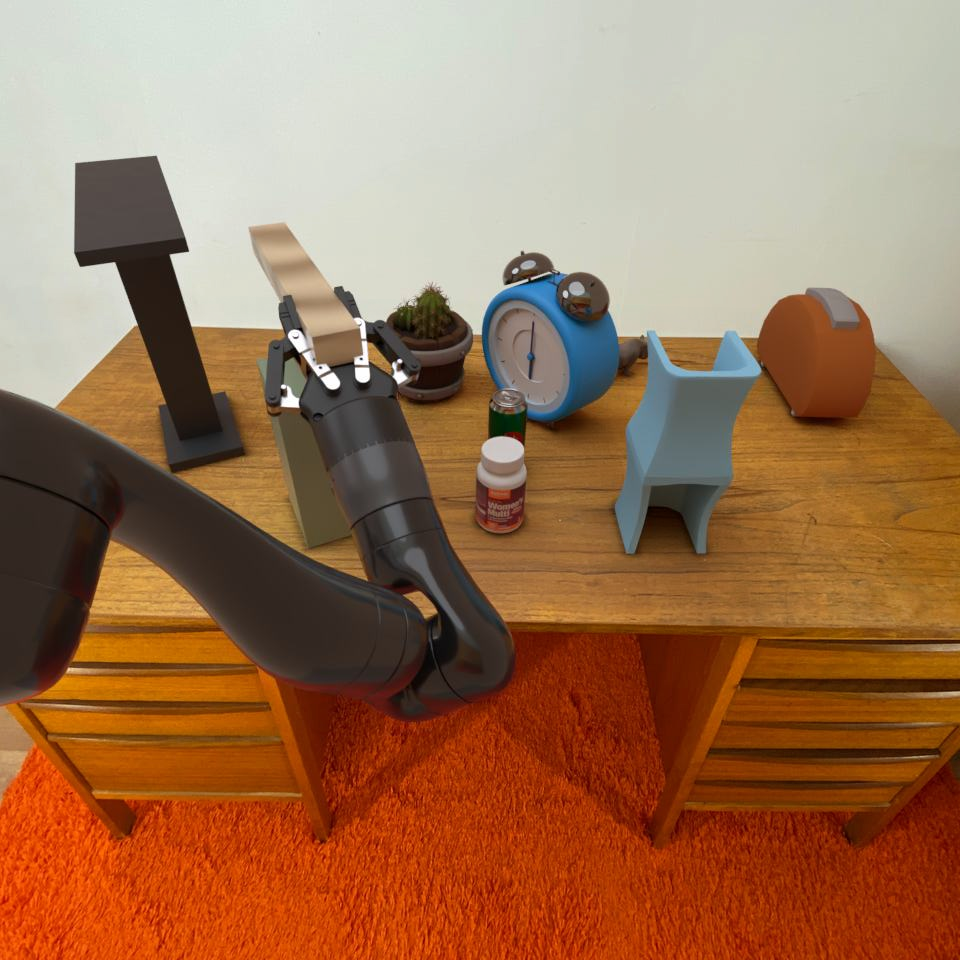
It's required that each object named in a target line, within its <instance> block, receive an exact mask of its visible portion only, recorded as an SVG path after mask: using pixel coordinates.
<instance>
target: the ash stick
mask: <svg viewBox="0 0 960 960" xmlns="http://www.w3.org/2000/svg"><path fill="white" fill-rule="evenodd" d="M247 229H248V234H249V237H250V241H251V247H252V251H253V254H254V256H255V258H256V260H257V262H258V264H259V265H260V267H261V269H262V271H263V273H264V274H265V277H266V278H267V280H268V282H269V284H270V286H271V287H272V290H273V291H274V293H275V295H276V296H277V298H278V300H279V303H282V302H283V296H286V295H292V298H293V301H294V303H295V306H296V312H297V314H298V317H299V320H300V323H301V326H302V334H303V335H304V336H305V338H306V339H307V342H308V345H309V348H310V349H311V350H312V353H313V356H314V361H315V362H316V364H317V365H320V364H325V363H326V364H327V365H328V367H332V366H337V365H341V364H346V363H351V362H354V357H358V356H362V355H363V348H362V339H361V330H360V327H359V326H358V324H357V323H356V321H355V320H354V319H353V317H352V316H351V314H350V313H349V312H348V310H347V309H346V307H345V306H344V305H343V303H342V302H341V301H340V300H339V298H338V297H337V296H336V294H335V293H334V288H333V287H332V286H331V285H330V284H329V282H328V281H327V280H326V278H325V276H324V275H323V274H322V273H321V270H320V269H319V268H318V267H317V265H316V264H315V262H314V261H313V260H312V259H311V257H310V255H309V254H308V253H307V252H306V250H305V248H304V247H303V246H302V245H301V242H299V240H298V239H297V237H296V236H295V235H294V234H293V232H292V231H291V229H290V227H289V226H288V225H287V223H286V222H284V221H283V222H275V223H267V224H261V225H252V226H248V228H247Z"/></svg>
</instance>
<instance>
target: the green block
mask: <svg viewBox="0 0 960 960" xmlns="http://www.w3.org/2000/svg"><path fill="white" fill-rule="evenodd" d="M267 360H268V356H266V357H262V358H257V359H256V365H257V369H258V373H259V378H260V382H261V386H262V390H263V394H264V395H265V385H266V373H267ZM306 382H307V380H306V378H305V377H304V375H303V374H302V371H301V369H300V367H299V366H298V364H297V363H296V361H295V360H294V359H293V358H291V359H290V360H288V361H286V362H285V374H284V384H285V385H287V386H289V387H290V388H291V390H292V394H293V395H294V396H295V397H297V398H300V396H301V393H302V391H303V389H304V386H305V384H306ZM269 418H270V423H271V427H272V431H273V436H274V440H275V444H276V449H277V452H278V456H279V461H280V463H281V464H280V465H281V470H282V472H283V473H282V474H283V478H284V481H285V486H286V489H287V493H288V498H289V501H290V504H291V507H292V510H293V512H294V514H295V518H296V520H297V523H298V526H299V528H300V531H301V533H302V536H303V539H304V542H305V544H306V548H307V549H308V550H309V549H311V548H315V547H318V546H322V545H325V544H327V543H332V542H334V541H337V540H341V539H345V538H349V537H350V536H351V537H352V534H351V531H350V529H349V527H348V524H347V522H346V520H345V518H344V516H343V515H342V513H341V510H340V508H339V506H338V503H337V501H336V498H335V496H334V495H333V493H332V490H331V487H330V480H329V477H328V474H327V471H326V468H325V466H324V463H323V460H322V457H321V454H320V451H319V448H318V445H317V442H316V439H315V436H314V433H313V430H312V428H311V426H310V424H309V423H308V422H307V421H306V420H305V419H304V418H303V417H302V416H301V415H300V413H291V412H282V413H281V415H279V416H277V417H272V416H270V415H269Z"/></svg>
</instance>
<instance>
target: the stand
mask: <svg viewBox="0 0 960 960" xmlns="http://www.w3.org/2000/svg"><path fill="white" fill-rule="evenodd" d="M73 229H74V230H73V254H74V256H75V259H76V261H77V264H78V266H79V267H80V268H85V267H91V266H92V267H93V266H98V265H104V264H106V265H107V264H112V263H115V266H116V269H117V271H118V274H119V278H120V280H121V283H122V286H123V289H124V291H125V294H126V296H127V300H128V302H129V305H130V308H131V310H132V314H133V316H134V319H135V322H136V324H137V327H138V330H139V332H140V336H141V338H142V341H143V344H144V346H145V350H146V352H147V355H148V357H149V360H150V363H151V365H152V368H153V372H154V374H155V377H156V379H157V382H158V385H159V388H160V391H161V394H162V396H163V399H164V401H165V403H164V404H159V405H157V407H158V412H159V418H160V424H161V430H162V436H163V441H164V448H165V454H166V459H167V465H168V468H169V470H170V473H172V474H174V473H178V472H180V471H185V470H188V469H193V468H197V467H200V466H205V465H208V464H213V463H217V462H220V461H225V460H228V459H233V458H237V457H240V456H245V455H246V452H245V448H244V445H243V441H242V438H241V435H240V432H239V430H238V426H237V423H236V420H235V417H234V414H233V411H232V408H231V407H232V406H231V405H230V402H229V398H228V395H227V392H226V390H223V391H219V392H212V389H211V386H210V382H209V379H208V376H207V373H206V369H205V366H204V363H203V359H202V357H201V353H200V349H199V346H198V343H197V339H196V337H195V334H194V329H193V327H192V323H191V320H190V317H189V314H188V309H187V306H186V302H185V300H184V297H183V293H182V290H181V286H180V283H179V281H178V277H177V274H176V270H175V267H174V264H173V261H172V260H173V259H172V257H171V255H178V254H184V253H189V252H190V248H189V245H188V242H187V237H186V235H185V232H184V230H183V227H182V223H181V221H180V218H179V215H178V212H177V210H176V207H175V204H174V201H173V197H172V194H171V193H170V189H169V187H168V183H167V181H166V178H165V175H164V172H163V170H162V167H161V164H160V161H159V158H158V155H148V156H146V155H145V156H137V157H135V156H134V157H126V158H114V159H105V160H104V159H103V160H102V159H101V160H93V161H83V162H82V161H81V162H75V163H74V226H73Z"/></svg>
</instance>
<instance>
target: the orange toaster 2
mask: <svg viewBox="0 0 960 960" xmlns="http://www.w3.org/2000/svg"><path fill="white" fill-rule="evenodd" d="M872 327H873V326H872V323H871V319H870V318H869V316H868V315H867V313H866V312H865V310H864V308H862V306H861V304H859V303H858V302H856V301H855V300H853V299H852V298H850V297H849V296H848V295H846V294H845V293H844V292H842V290H839V289H836V288H831V287H807V288H806V290H805V292H804V294H802V293H801V294H799V293H798V294H790V295H787V296H785V297H783V298H780V299H779V300H777V302H776V303H775V304H774V305H773V306H772V307H771V308H770V310H769V312H768V313H767V315H766V317H765V319H764V320H763V323H762V325H761V328H760V331H759V334H758V338H757V343H756V352H757V355H758V357H759V359H760V361H761V362H760V365H761V366H760V367H762V368H766V370H767V372H768V373H769V374H770V377H771V378H772V379H773V381H774V383H775V385H776V386H777V387H778V389H779V391H780V392H781V394H782V395H783V397H784V399H785V400H786V402H787V403H788V405H789V406H790V408H791V411H790V414H791V416H792V417H795V418H796V417H797V418H798V417H799V418H832V419H833V418H837V419H838V418H839V419H845V418H846V419H850V418H858V416H859V415H860V413H861V412H862V410H863V408H864V407H865V405H866V403H867V400H868V398H869V396H870V394H871V390H872V386H873V380H874V375H875V370H876V369H875V368H876V356H877V355H876V354H877V353H876V352H877V351H876V343H875V334H874V331H873V328H872Z"/></svg>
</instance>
